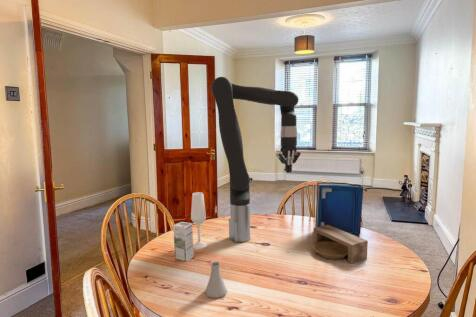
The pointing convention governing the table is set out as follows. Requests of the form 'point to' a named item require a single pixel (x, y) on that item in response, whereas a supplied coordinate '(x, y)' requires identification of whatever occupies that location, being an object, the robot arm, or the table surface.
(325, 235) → the walnut shelf
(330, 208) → the book
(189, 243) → the syrup box
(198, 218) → the champagne flute
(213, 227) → the table surface
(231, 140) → the robot arm
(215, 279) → the flask
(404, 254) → the table surface
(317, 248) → the plant saucer
